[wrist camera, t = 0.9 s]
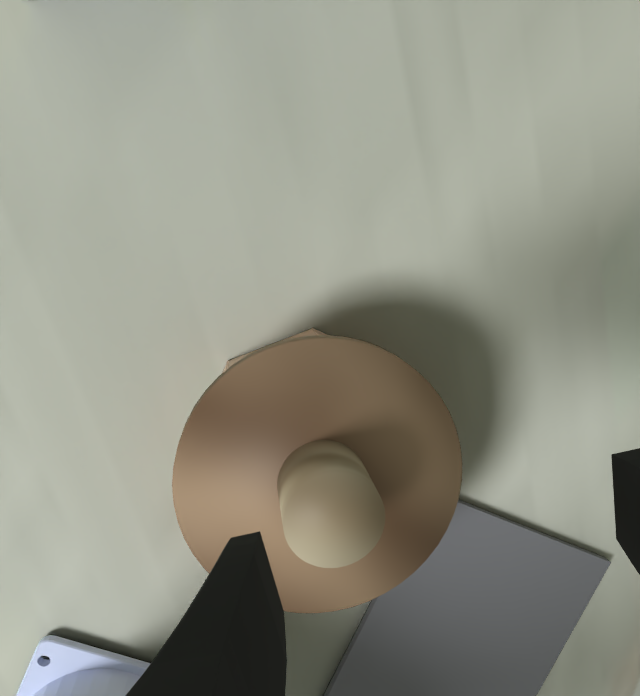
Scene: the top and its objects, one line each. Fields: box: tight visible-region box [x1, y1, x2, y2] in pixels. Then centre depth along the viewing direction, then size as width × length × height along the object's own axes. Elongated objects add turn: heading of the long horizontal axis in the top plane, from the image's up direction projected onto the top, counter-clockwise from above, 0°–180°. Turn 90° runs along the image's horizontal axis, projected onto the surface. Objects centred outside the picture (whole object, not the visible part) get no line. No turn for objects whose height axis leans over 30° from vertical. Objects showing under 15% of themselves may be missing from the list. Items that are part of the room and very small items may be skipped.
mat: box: [324, 500, 611, 696], centre depth 27 cm, size 12×10×1 cm
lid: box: [172, 335, 462, 613], centre depth 19 cm, size 10×10×4 cm
